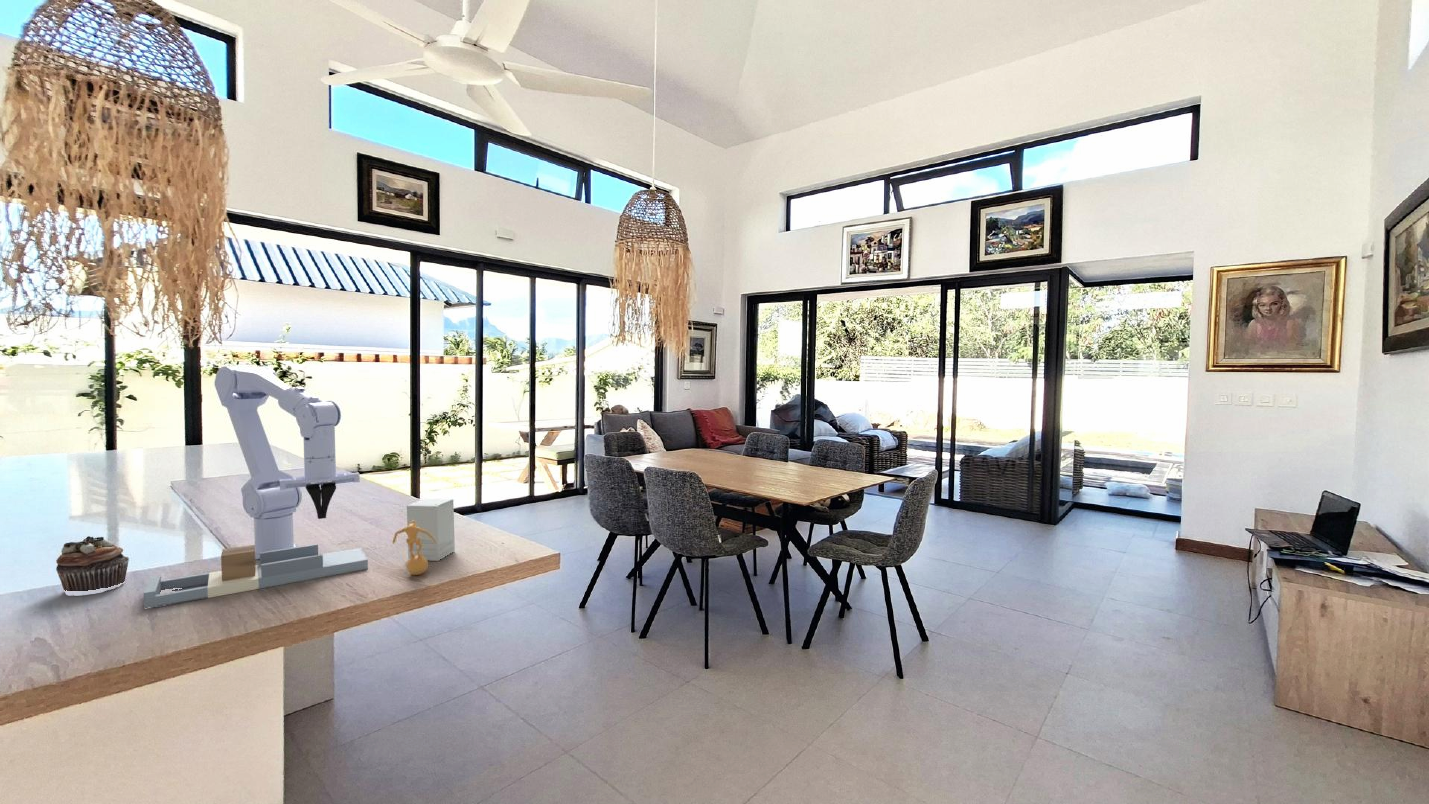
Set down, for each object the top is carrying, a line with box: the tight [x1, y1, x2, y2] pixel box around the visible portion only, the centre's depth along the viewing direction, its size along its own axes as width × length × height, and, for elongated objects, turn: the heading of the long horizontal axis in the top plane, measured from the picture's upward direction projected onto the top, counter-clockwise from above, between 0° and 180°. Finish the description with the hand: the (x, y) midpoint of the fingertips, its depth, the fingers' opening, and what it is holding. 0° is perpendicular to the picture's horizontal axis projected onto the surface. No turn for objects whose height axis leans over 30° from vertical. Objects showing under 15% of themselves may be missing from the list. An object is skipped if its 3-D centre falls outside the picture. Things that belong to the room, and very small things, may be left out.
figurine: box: [392, 520, 436, 576], centre depth 121 cm, size 8×6×12 cm
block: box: [220, 544, 257, 581], centre depth 115 cm, size 5×5×5 cm
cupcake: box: [55, 535, 130, 591], centre depth 112 cm, size 10×10×10 cm
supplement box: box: [406, 497, 456, 562], centre depth 134 cm, size 7×7×13 cm
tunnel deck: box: [143, 543, 369, 608], centre depth 118 cm, size 10×34×4 cm, turn 129°
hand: (321, 517), depth 128 cm, fingers closed
